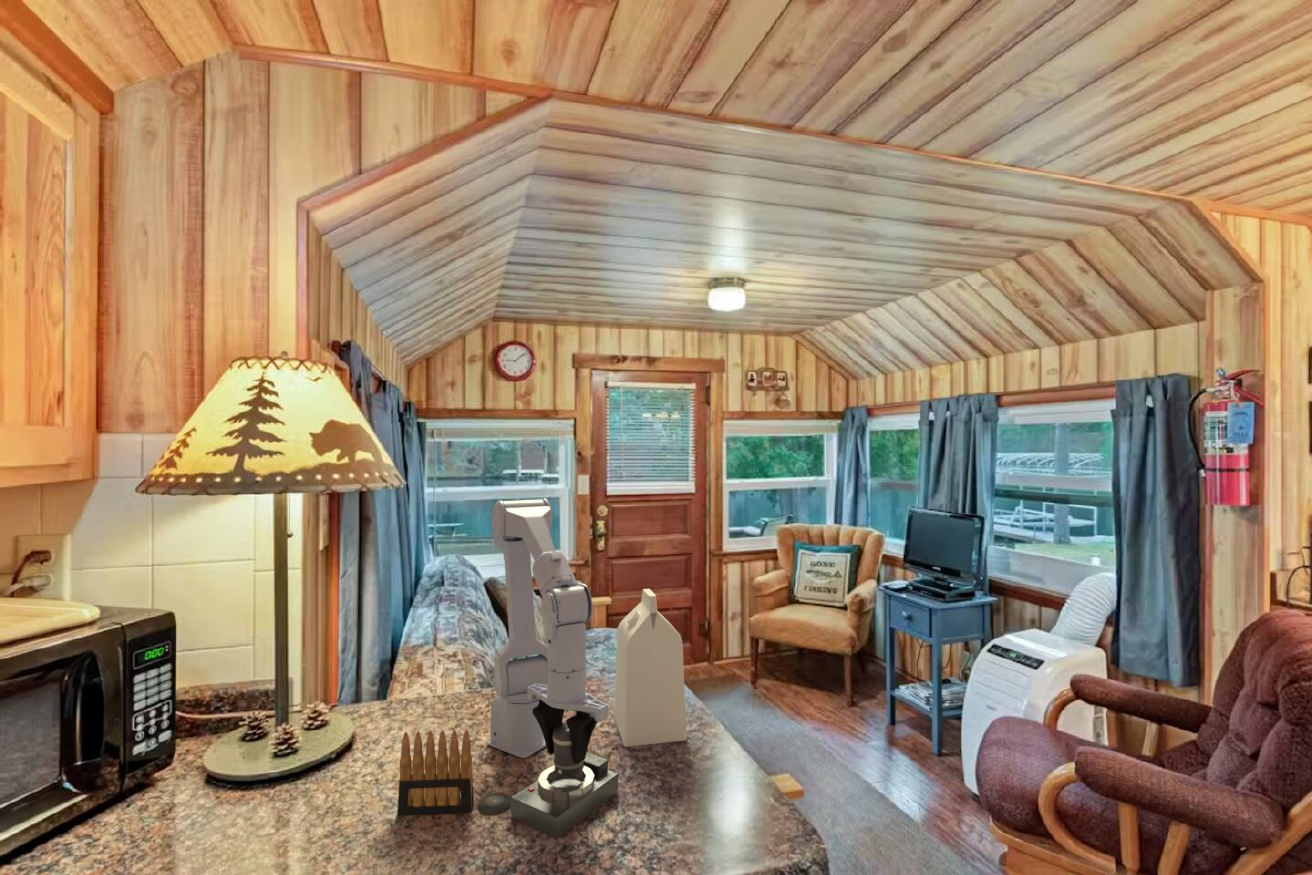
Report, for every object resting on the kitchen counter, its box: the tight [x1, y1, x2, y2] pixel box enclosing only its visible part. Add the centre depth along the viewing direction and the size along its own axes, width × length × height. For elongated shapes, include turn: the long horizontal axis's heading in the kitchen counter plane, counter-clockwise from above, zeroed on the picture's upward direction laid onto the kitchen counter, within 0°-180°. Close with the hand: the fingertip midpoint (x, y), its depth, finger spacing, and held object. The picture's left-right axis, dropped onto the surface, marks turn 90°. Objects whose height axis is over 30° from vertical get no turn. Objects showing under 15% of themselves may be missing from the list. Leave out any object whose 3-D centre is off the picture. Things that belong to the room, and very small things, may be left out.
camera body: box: [510, 752, 619, 840], centre depth 99 cm, size 9×14×5 cm, turn 146°
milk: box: [613, 588, 688, 748], centre depth 124 cm, size 12×12×26 cm
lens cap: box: [477, 792, 512, 815], centre depth 99 cm, size 5×5×1 cm
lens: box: [553, 721, 584, 776], centre depth 99 cm, size 5×5×6 cm
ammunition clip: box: [397, 729, 475, 817], centre depth 97 cm, size 11×2×12 cm, turn 95°
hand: (566, 756), depth 99 cm, fingers closed on lens, 4 cm apart
